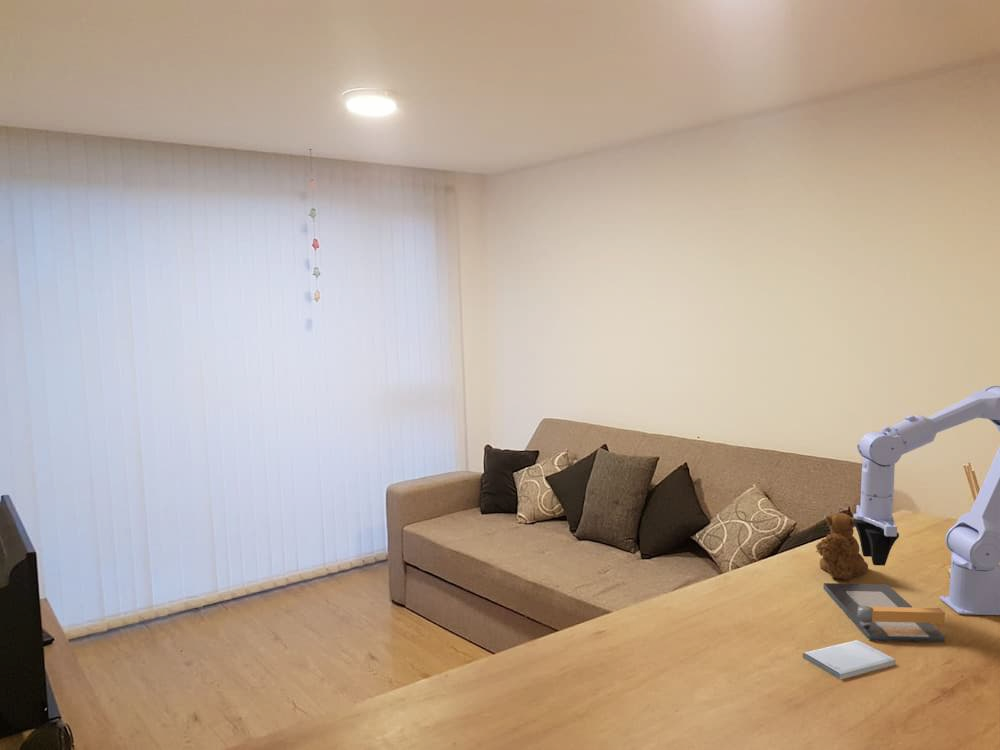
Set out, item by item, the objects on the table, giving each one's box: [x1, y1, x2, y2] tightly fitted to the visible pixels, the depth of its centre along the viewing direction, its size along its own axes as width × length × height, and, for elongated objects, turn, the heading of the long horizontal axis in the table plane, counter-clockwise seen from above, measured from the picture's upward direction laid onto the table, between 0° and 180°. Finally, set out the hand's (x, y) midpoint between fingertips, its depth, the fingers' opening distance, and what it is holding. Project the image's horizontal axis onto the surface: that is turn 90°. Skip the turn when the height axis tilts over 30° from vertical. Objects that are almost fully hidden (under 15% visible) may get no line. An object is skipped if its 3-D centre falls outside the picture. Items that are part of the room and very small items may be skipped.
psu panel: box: [823, 582, 946, 643], centre depth 147 cm, size 13×24×2 cm, turn 176°
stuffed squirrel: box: [815, 512, 869, 581], centre depth 168 cm, size 10×14×13 cm
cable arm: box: [857, 606, 946, 624], centre depth 139 cm, size 15×3×2 cm, turn 86°
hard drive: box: [802, 639, 896, 681], centre depth 129 cm, size 2×8×12 cm
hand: (873, 560), depth 150 cm, fingers open, 4 cm apart
